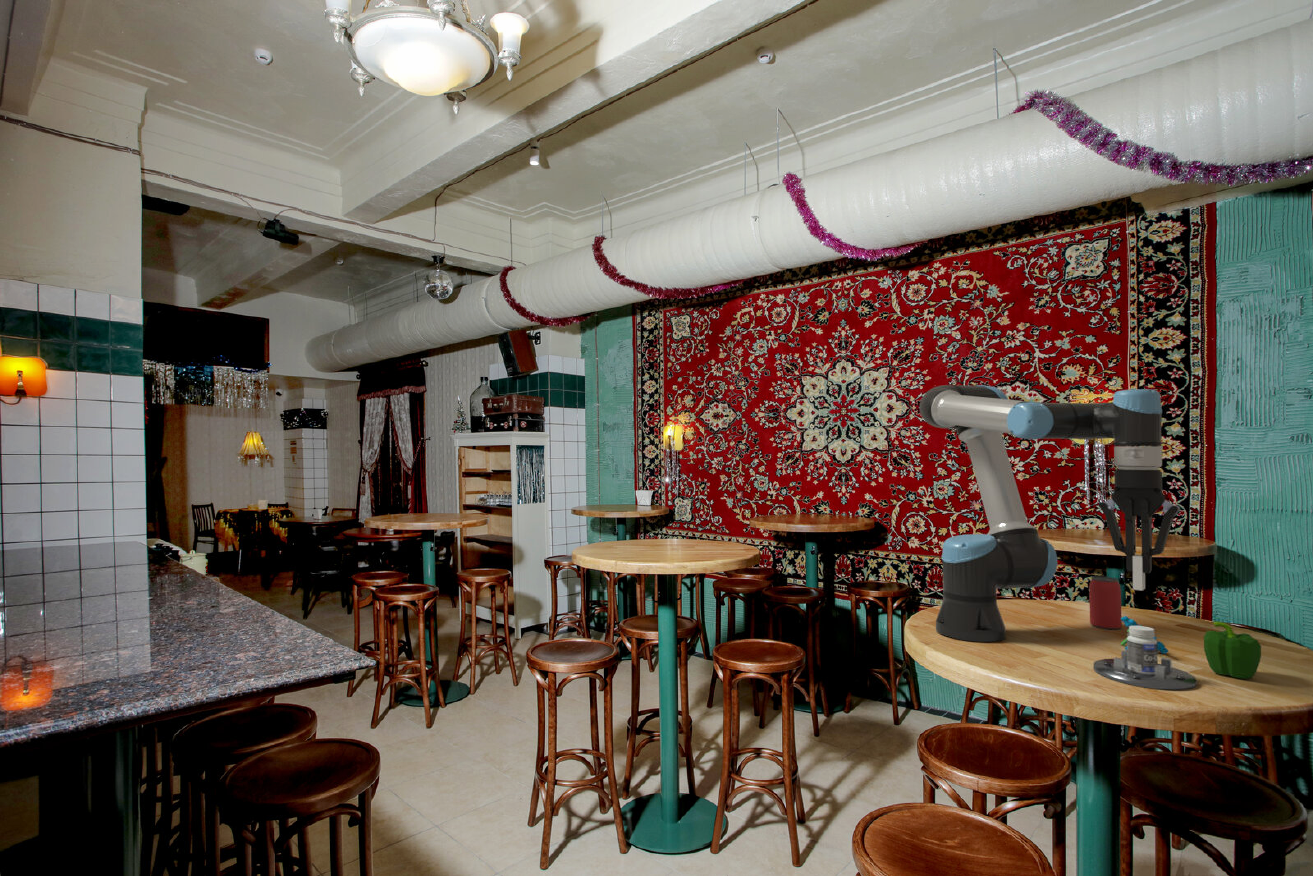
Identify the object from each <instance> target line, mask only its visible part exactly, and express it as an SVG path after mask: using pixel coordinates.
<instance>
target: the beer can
mask: <svg viewBox="0 0 1313 876" xmlns="http://www.w3.org/2000/svg"><path fill="white" fill-rule="evenodd" d="M1090 579H1091V580H1090V582H1089V586H1088V591H1089V593H1088V596H1089V624H1091V626H1092V627H1096V628H1100V629H1104V630H1119V629H1121V628H1122V627H1123V626H1122V623H1123V621H1122V620H1121V618H1122V617H1123V616H1122V588H1121V585H1120V583H1119V579H1118V578H1115V577H1111V576H1110V577H1109V576H1101V575H1100V576H1099V575H1098V576H1092V577H1090Z"/></svg>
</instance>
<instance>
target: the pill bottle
mask: <svg viewBox="0 0 1313 876" xmlns="http://www.w3.org/2000/svg"><path fill="white" fill-rule="evenodd" d="M1128 629H1129V634H1131V635H1130V636H1128V637H1127V636H1126V638H1127V643H1126V646H1127V650H1126V651H1127V663H1128V669H1129V670H1130V671H1132V672H1136V673H1139V674H1145V675H1154V674H1155V666H1156V665H1158V664H1159V663H1158V650H1157V641H1158V640H1157V639H1156V640H1157V641H1156V640H1155V639H1154V638H1153V637H1156V636H1155V635H1156V633H1155V632H1156V631H1155V629H1154V628H1153V627H1149V626H1142V625H1141V626H1140V625H1139V626H1129V628H1128Z"/></svg>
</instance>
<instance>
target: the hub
mask: <svg viewBox="0 0 1313 876" xmlns="http://www.w3.org/2000/svg"><path fill="white" fill-rule="evenodd" d="M1120 654H1121V657H1117V656H1116V657H1114V658H1102V659H1099V660H1095V661H1094V662H1093V667H1092V668H1093V670H1094V672H1095V673H1097V674H1098V675H1100V676H1101V677H1104V678H1106V679H1108V680H1112V681H1115V682H1118V683H1122V684H1124V685H1129V686H1135V687H1139V688H1144V689H1145V688H1146V689H1151V690H1152V689H1153V690H1161V691H1162V690H1163V691H1187V690H1191V689H1194V688H1196V687H1197V684H1198V683H1197V677H1195V676H1194V675H1193V674H1191V673H1189V672H1186V671H1184V670H1182V669H1178V668H1177V667H1174V666H1173V665H1172V663H1173V662H1172V660H1173V659H1172V658H1167V657H1161V658H1160V659H1161V660H1160V661H1161V662H1160V663H1158V665H1156V666H1155V674H1154V675H1145V674H1139V673H1136V672H1132V671H1130V670H1129V669H1128V663H1127V650H1121V653H1120Z"/></svg>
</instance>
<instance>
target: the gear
mask: <svg viewBox="0 0 1313 876" xmlns="http://www.w3.org/2000/svg"><path fill="white" fill-rule="evenodd" d="M1121 617H1122V618H1121V620H1122V623H1123V624H1124V625H1125V627H1126V628H1128V629H1127V630H1126V632H1127V633H1126V638H1125V639H1123V640H1122V641H1121V642H1120V645H1121V646H1122V647H1124V646H1125V645H1126V646H1125V647H1124V649H1125V651H1127V637H1128V636H1130V635H1131V634H1129V626H1142V625H1141V624H1140V625H1139V624H1138V623H1137V622H1136V620H1134V619H1132V618H1129V617H1128V616H1127V615H1124V616H1121ZM1153 638H1154V639H1155V640H1156V641H1157V652H1159V653H1161V654H1162V655H1164V654H1165V655H1166V654H1167V653H1169V650H1168V648H1166V645H1165V644H1164V643H1163V642H1161V641H1158V640H1157V639H1158V637H1156V636H1155V637H1153Z"/></svg>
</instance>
